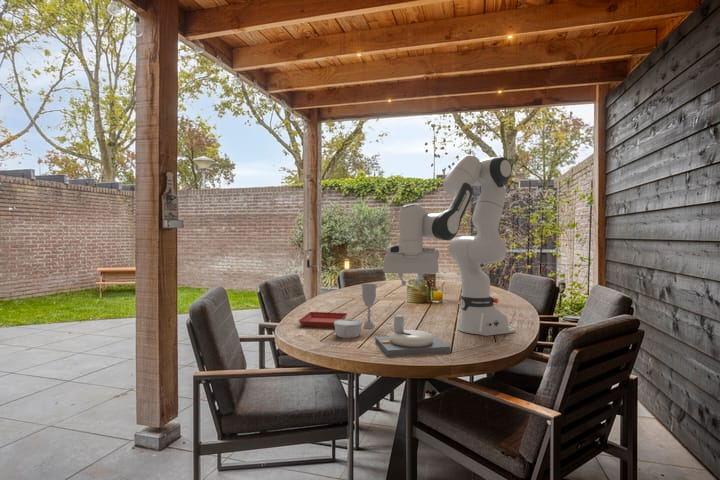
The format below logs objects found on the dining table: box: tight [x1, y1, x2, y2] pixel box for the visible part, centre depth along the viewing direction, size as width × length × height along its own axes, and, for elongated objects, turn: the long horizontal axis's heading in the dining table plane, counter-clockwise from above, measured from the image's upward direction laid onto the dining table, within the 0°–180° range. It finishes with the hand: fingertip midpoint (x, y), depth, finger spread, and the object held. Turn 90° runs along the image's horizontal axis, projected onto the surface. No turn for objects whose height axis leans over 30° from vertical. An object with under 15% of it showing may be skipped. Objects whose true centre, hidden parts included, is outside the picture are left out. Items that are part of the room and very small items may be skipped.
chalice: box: [360, 283, 378, 329], centre depth 175 cm, size 7×7×18 cm
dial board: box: [374, 334, 451, 357], centre depth 146 cm, size 22×17×3 cm
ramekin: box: [334, 318, 363, 339], centre depth 162 cm, size 11×11×5 cm
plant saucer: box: [298, 311, 348, 329], centre depth 182 cm, size 18×18×3 cm
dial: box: [389, 314, 434, 347], centre depth 145 cm, size 15×15×8 cm
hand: (410, 285), depth 151 cm, fingers open, 3 cm apart
